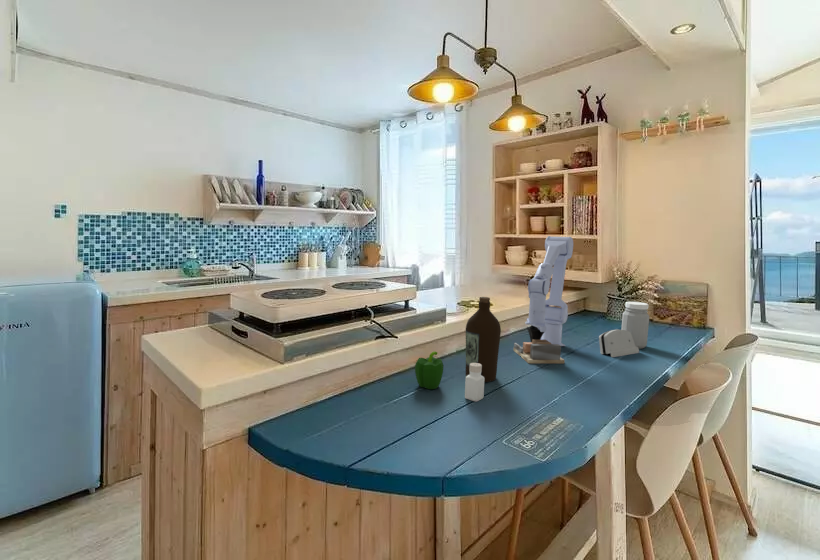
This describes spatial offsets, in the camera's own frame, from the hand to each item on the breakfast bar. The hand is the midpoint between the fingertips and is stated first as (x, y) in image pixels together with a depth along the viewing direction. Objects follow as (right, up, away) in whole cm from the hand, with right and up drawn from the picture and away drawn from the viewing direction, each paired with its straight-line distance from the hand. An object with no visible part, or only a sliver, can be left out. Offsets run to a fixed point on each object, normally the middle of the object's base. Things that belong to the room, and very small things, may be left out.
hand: (534, 346), depth 158 cm
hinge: (+34, -4, +6) cm, 35 cm away
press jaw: (0, -2, -2) cm, 3 cm away
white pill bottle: (-30, -7, -44) cm, 54 cm away
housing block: (0, -2, -6) cm, 6 cm away
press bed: (0, -3, -3) cm, 5 cm away
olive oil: (-25, -5, -27) cm, 37 cm away
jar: (+46, -3, +17) cm, 49 cm away
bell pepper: (-41, -6, -36) cm, 55 cm away
